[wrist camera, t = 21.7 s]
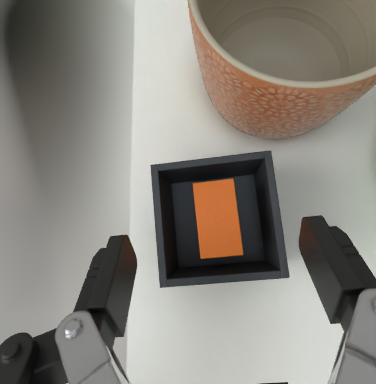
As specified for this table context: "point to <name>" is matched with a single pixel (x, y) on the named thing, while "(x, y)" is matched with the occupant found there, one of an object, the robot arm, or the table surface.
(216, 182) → the block
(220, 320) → the table surface
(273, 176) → the dark grey open box
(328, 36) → the planter
